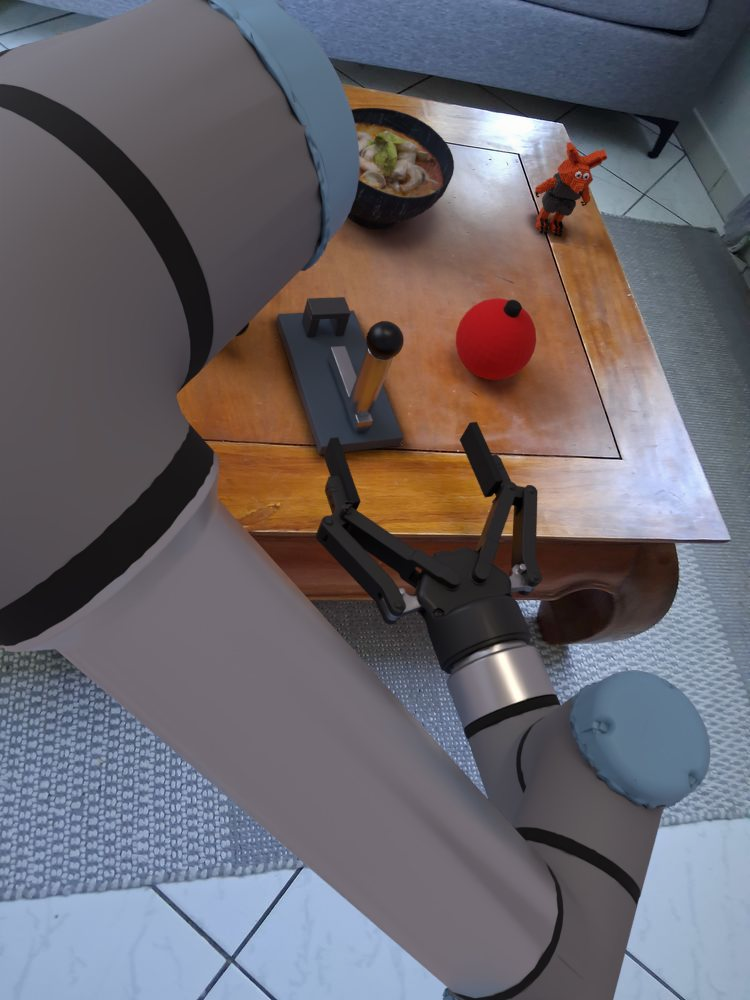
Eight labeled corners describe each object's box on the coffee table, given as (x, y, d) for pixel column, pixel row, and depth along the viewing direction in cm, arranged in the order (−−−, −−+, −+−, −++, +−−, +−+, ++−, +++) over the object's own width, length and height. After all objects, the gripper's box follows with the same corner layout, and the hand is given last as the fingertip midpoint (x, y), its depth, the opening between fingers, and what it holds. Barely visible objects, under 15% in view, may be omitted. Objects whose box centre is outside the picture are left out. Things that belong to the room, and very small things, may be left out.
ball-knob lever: (319, 357, 81) (346, 263, 71) (349, 355, 82) (380, 263, 72) (346, 432, 77) (379, 345, 66) (377, 429, 78) (414, 342, 67)
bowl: (279, 183, 98) (291, 110, 90) (376, 154, 107) (396, 85, 98) (362, 269, 93) (384, 200, 85) (457, 231, 102) (484, 166, 94)
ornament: (512, 343, 93) (547, 282, 85) (521, 401, 88) (559, 341, 80) (442, 331, 91) (472, 267, 83) (447, 389, 86) (479, 327, 78)
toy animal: (526, 238, 105) (566, 162, 95) (520, 213, 108) (557, 136, 98) (578, 248, 107) (622, 173, 97) (570, 222, 110) (612, 147, 100)
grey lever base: (275, 323, 85) (282, 289, 81) (351, 319, 88) (361, 287, 84) (318, 455, 77) (328, 425, 73) (399, 445, 80) (413, 417, 76)
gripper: (327, 712, 57) (261, 478, 67) (595, 644, 67) (504, 447, 76) (350, 679, 51) (273, 427, 61) (642, 609, 61) (536, 400, 70)
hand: (401, 438), depth 68 cm, fingers open, 13 cm apart
